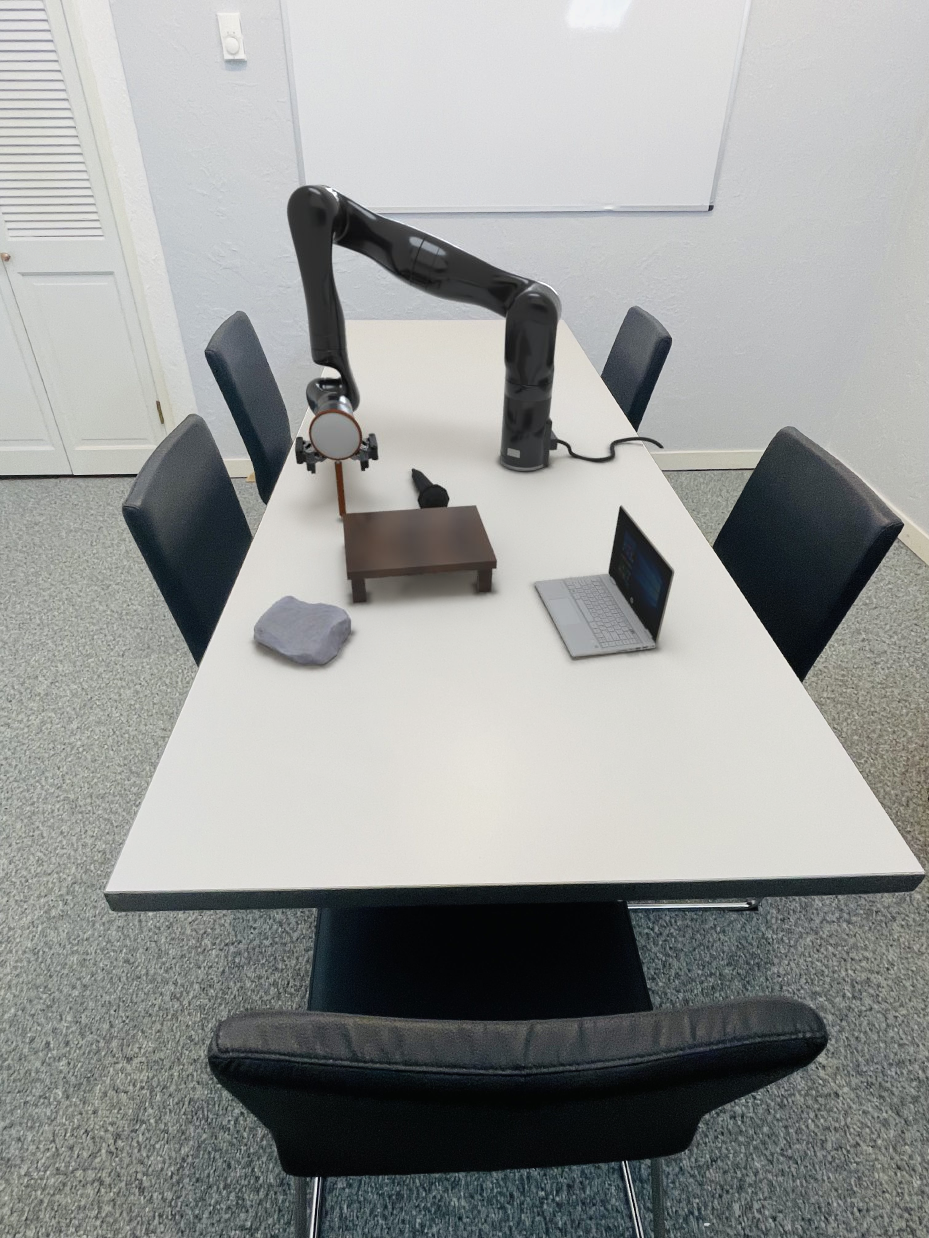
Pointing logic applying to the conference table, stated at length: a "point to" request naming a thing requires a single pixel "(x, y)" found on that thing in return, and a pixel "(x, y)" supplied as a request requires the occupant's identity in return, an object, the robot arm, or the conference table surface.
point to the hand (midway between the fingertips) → (338, 467)
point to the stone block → (303, 630)
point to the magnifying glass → (336, 443)
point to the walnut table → (416, 545)
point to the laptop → (613, 597)
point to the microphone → (429, 492)
